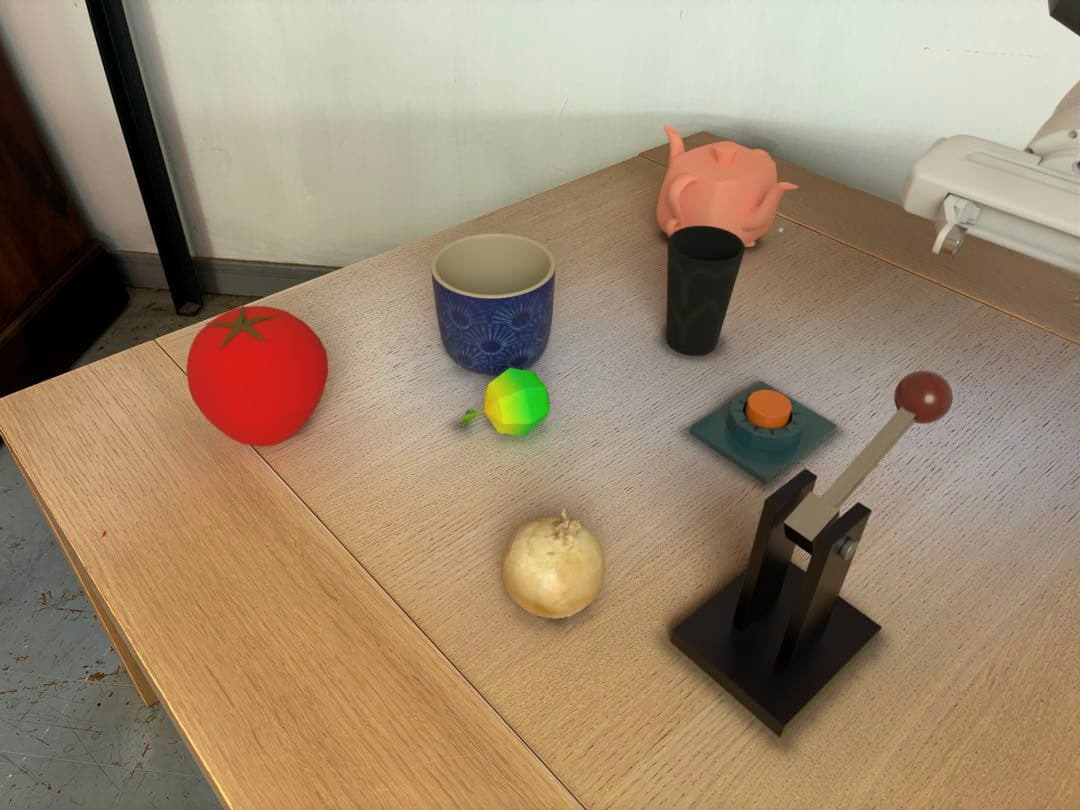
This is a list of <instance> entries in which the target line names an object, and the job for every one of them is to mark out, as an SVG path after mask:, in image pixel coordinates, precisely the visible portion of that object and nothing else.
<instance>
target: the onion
mask: <svg viewBox="0 0 1080 810" xmlns="http://www.w3.org/2000/svg"><path fill="white" fill-rule="evenodd" d="M566 511H567V509H565V508H563V509H561V516H562V517H554V516H553V517H552V516H551V517H541V518H537V519H534V520H530V521H528V522H527V523H525V524H523V525H522V526H520V527H519V528H518V529H516V530H514V532H513V534H511V536H510V537H509V539H508V540H507V542H506V543H505V546H504V547H503V551H502V554H501V559H500V572H501V573H500V574H501V579H502V582H503V586H504V587H505V590H506V591H507V593H508V594H509V596H510V598H511V599H512V600H513V601H514V602H515V603H516V604H517V605H518V606H519V607H521V608H522V609H523V610H525V611H526V612H528V613H530V614H532V615H534V616H538V617H540V618H541V617H542V618H547V619H554V620H556V619H558V620H560V619H564V618H568V617H569V618H570V617H571V616H573V615H575V614H578V613H579V612H581V611H582V610H584V609H585V608H586V607H587V606H589V605H590V604H591V603H592V602H593V601H594V599H596V596H597V595H598V594H599V591H600V590H601V587H602V585H603V583H604V582H603V581H604V579H605V571H606V569H605V567H606V566H605V563H606V562H605V561H606V560H605V552H604V549H603V547H602V545H601V543H600V541H599V539H598V538H597V537H596V535H595V534H594V533H593V532H592V531H591V530H590V529H588V528H587V527H585V526H583V525H582V522H581V521H580V520H579V519H577V518H573V517H569V516H567V513H566Z"/></svg>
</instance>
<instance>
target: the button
mask: <svg viewBox="0 0 1080 810" xmlns="http://www.w3.org/2000/svg"><path fill="white" fill-rule="evenodd" d="M779 392H780V391H779ZM779 392H776V391H772V390H759V391H756V392H754V393H752V394H751V395H750V396H749V398H748V402H747V407H746V417H747V418H748V420H749V421H751V422H752V423H754V424H755V425H757V426H760V427H764V428H769V429H775V428H781V427H783V426H785V425H786V424H787V422H788V420H789V416H790V412H791V409H792V405H791V402H790V400H789V399H788V398H787V397H786V396H784V395H783V394H784V393H783V394H781V393H782V392H781V393H779Z"/></svg>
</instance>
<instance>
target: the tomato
mask: <svg viewBox="0 0 1080 810" xmlns="http://www.w3.org/2000/svg"><path fill="white" fill-rule="evenodd" d="M328 360H329V359H328V353H327V350H326V348H325V346H324V344H323V342H322V340H321V338H320V337H319V336H318V335H317V334H316V333H315V332H314V330H313V329H312V328H311V327H310V326H309V325H308V324H307V323H306V322H305V321H304V320H301V319H300V318H298V317H297V316H295V315H293V314H292V313H290V312H288V311H287V310H285V309H281V308H275V307H270V306H265V305H250V306H248V305H247V306H244V304H242V305H241V306H240V307H236V308H233V309H230V310H227V311H225V312H224V313H222V314H220V315H218V316H217V317H215V318H214V319H212V320H210V321H209V322H208V323H205V326H203V328H202V329H201V330H199V332H197V334H196V335H195V337H194V339H193V341H192V344H191V346H190V348H189V351H188V355H187V360H186V361H187V362H186V376H187V384H188V385H187V386H188V391H189V393H190V395H191V399H192V401H193V403H194V404H195V405H196V407H197V408H198V410H199V411H200V413H201V414H202V415H203V416H204V418H205V419H206V420H207V421H208V422H209V423H211V425H213V427H215V428H216V429H217V430H218V431H220V432H221V433H222V434H224V435H225V436H227V437H229V438H230V439H231V440H232V441H233V440H234V441H235V442H238V443H240V444H242V445H248V446H255V447H268V446H274V445H277V444H280V443H282V442H283V441H286V440H287V439H289V438H290V437H291V436H293V435H294V434H295V433H297V432H298V431H299V430H301V428H302V427H303V426H304V425H305V424H306V423H307V422H308V421H309V419H310V418H311V417H312V415H313V414H314V413H315V411H316V409H317V407H318V405H319V403H320V401H321V398H322V396H323V395H324V391H325V388H326V384H327V379H328V374H329V361H328Z"/></svg>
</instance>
